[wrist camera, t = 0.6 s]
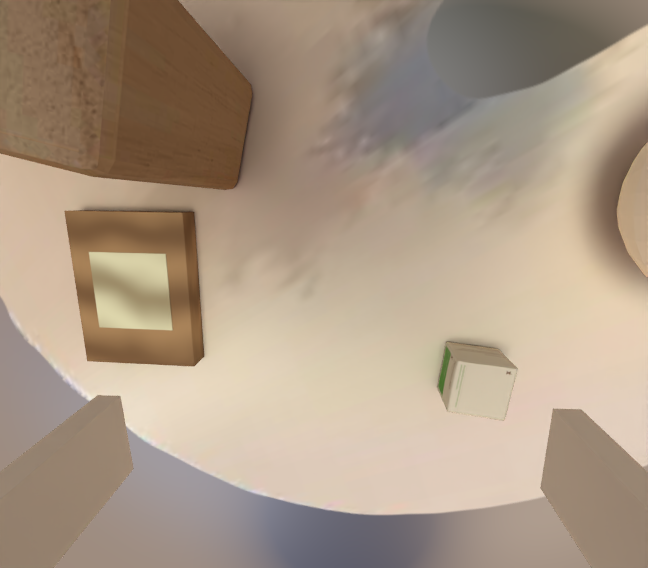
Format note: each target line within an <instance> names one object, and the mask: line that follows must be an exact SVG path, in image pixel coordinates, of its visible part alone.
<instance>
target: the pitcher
mask: <svg viewBox="0 0 648 568" xmlns="http://www.w3.org/2000/svg"><path fill="white" fill-rule="evenodd" d="M617 219H618V228H619V230H620V233H621V236H622V239H623V241H624V244H625V247H626V249H627V252H628V254H629V255H630V256H631V258H632V259H633V260H634V262H635V263H636V264H637V266H638V267H639V269H640V270H641V271H642V273H643V274H644V275H645V276H646V277H648V142H647V143H646V144H645V145H644V147H643V148H642V149H641V150H640V152H639V153H638V155H637V156H636V158H635V159H634V161H633V163H632V165H631V167H630V169H629V171H628V173H627V175H626V177H625V179H624V181H623V184H622V188H621V192H620V196H619V201H618V207H617Z"/></svg>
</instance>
